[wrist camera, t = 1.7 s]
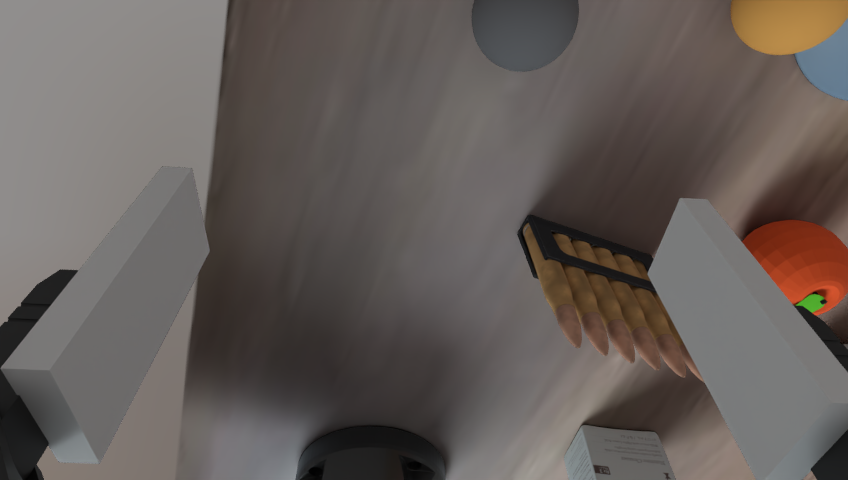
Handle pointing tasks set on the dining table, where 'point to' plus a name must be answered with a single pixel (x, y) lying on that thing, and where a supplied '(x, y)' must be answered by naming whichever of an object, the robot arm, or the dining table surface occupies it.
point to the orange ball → (787, 23)
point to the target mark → (828, 64)
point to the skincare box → (616, 455)
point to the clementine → (802, 262)
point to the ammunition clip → (603, 294)
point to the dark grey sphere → (524, 31)
